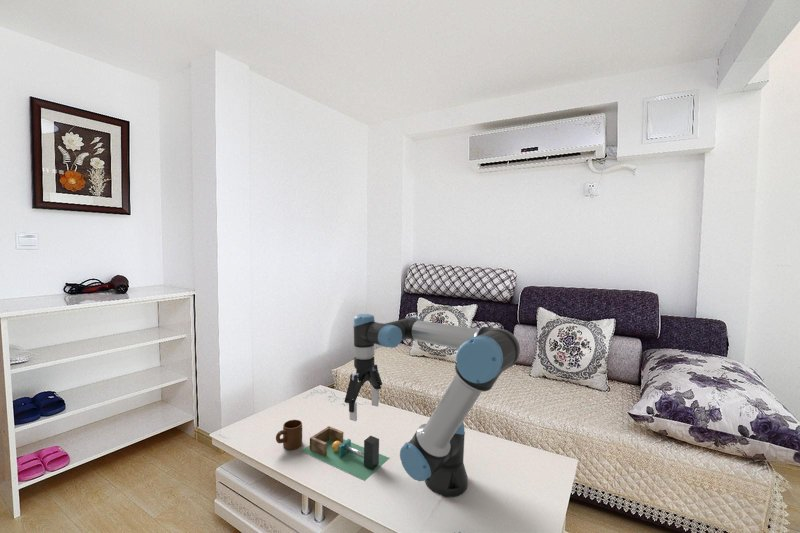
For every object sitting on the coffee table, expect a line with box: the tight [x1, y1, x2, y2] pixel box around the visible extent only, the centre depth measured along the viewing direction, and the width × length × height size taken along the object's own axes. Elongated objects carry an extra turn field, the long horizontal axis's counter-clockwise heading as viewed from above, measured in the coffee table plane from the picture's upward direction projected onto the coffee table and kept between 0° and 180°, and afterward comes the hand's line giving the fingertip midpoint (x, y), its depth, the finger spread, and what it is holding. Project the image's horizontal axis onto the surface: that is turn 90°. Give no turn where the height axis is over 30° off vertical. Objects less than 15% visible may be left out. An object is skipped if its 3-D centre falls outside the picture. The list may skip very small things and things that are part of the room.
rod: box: [338, 435, 380, 470], centre depth 137 cm, size 16×6×10 cm, turn 58°
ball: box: [332, 441, 342, 452], centre depth 143 cm, size 4×4×4 cm
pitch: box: [301, 438, 390, 482], centre depth 142 cm, size 32×16×1 cm, turn 58°
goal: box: [309, 426, 344, 457], centre depth 146 cm, size 8×11×5 cm
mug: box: [275, 419, 303, 451], centre depth 145 cm, size 12×8×9 cm, turn 148°
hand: (364, 412), depth 134 cm, fingers open, 13 cm apart
